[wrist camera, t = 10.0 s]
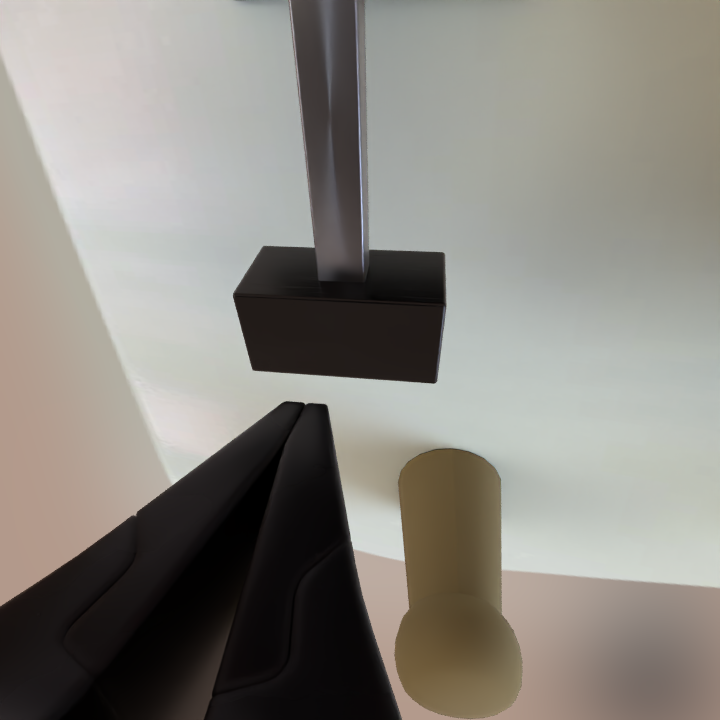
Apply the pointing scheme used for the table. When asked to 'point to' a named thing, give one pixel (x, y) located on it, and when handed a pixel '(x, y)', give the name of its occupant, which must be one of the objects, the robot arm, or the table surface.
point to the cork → (455, 588)
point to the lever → (340, 236)
